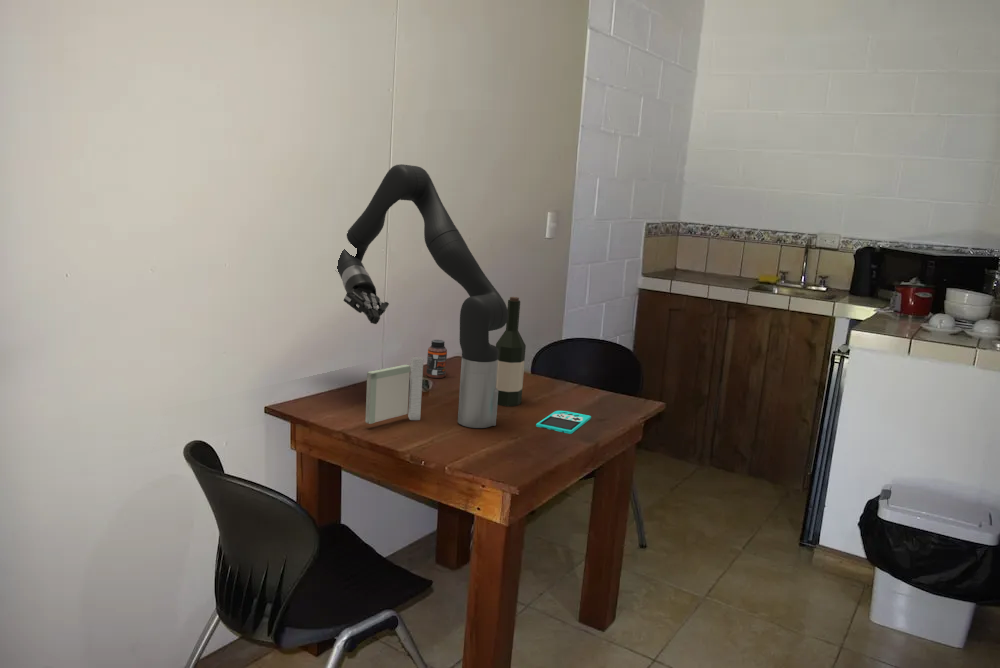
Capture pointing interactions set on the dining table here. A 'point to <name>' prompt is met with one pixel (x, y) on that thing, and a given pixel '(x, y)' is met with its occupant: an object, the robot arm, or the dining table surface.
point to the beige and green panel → (387, 393)
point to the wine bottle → (511, 359)
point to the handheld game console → (563, 421)
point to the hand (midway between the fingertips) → (375, 320)
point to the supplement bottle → (436, 359)
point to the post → (415, 388)
